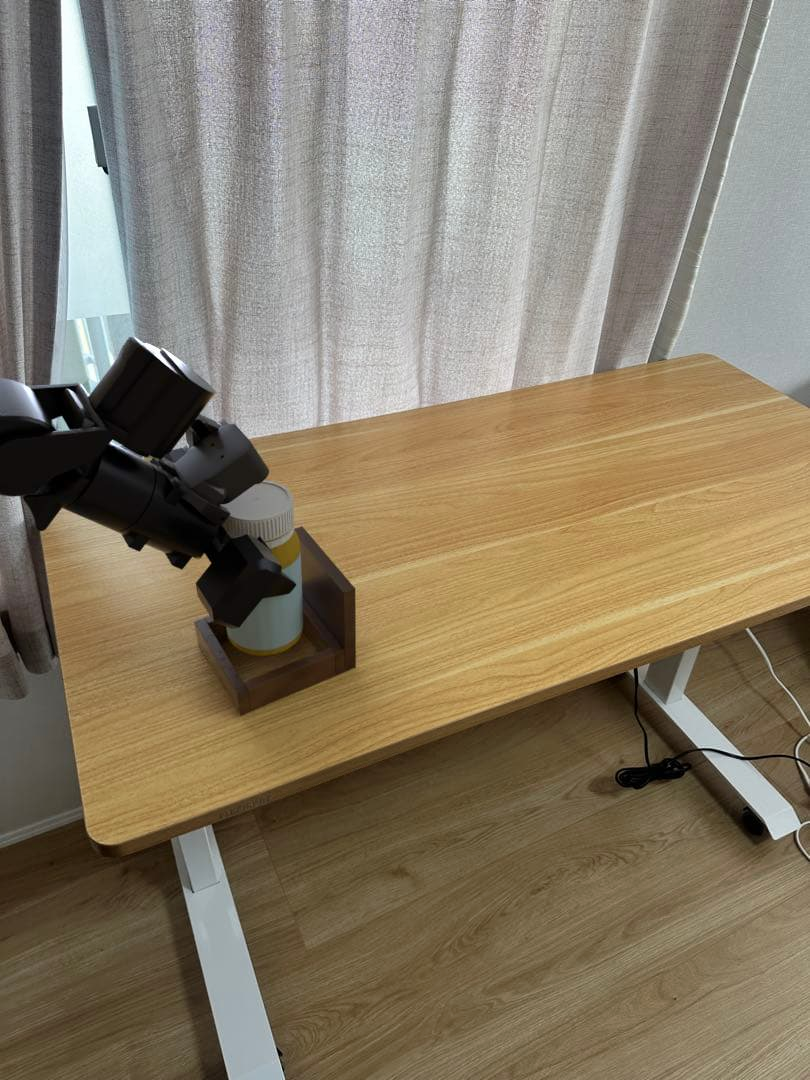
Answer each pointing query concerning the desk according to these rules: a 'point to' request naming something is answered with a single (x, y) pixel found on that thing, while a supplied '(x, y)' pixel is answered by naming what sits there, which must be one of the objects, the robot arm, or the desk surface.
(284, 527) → the bottle
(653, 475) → the desk surface
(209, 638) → the tray
